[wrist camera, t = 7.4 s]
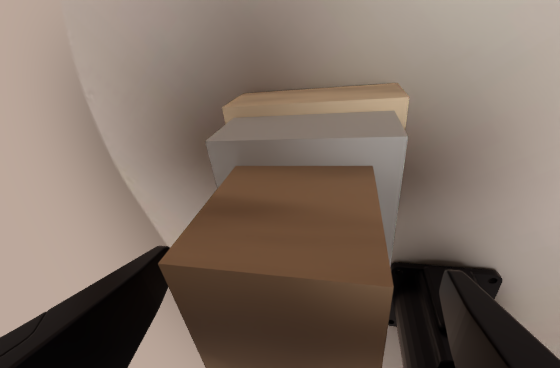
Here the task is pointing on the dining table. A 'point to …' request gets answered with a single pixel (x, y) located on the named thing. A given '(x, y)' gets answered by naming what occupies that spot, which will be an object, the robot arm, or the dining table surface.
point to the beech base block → (321, 102)
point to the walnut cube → (286, 270)
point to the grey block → (319, 149)
